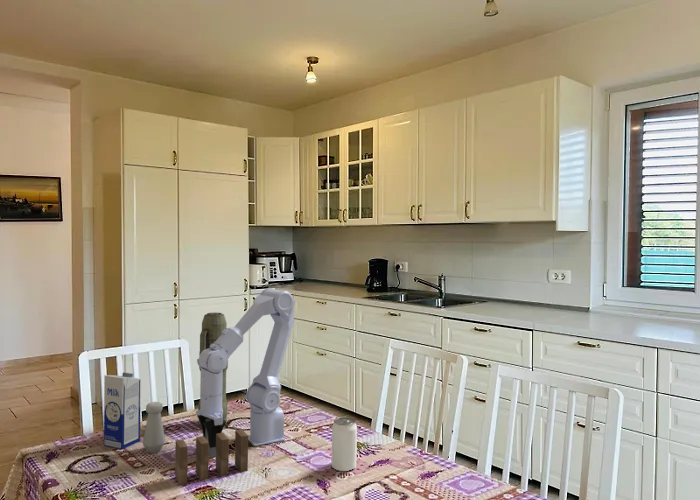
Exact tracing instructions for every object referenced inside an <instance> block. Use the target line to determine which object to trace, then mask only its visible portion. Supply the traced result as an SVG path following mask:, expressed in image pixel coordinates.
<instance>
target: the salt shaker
mask: <svg viewBox="0 0 700 500" xmlns="http://www.w3.org/2000/svg"><path fill="white" fill-rule="evenodd" d="M145 407H146V408H145V411H146V413H147V419H146V424H145V429H144V430H145V431H144V433H143V434H144V435H143V439H142V446H143V448H144V449H145V451H146V453H149V454H150V453H151V454H154V453H158V452H161V451H162V449H163V447H164V445H165V442H166V438H165V437H166V436H165V432H164V425H163V420H162V419H163V418H162V414H161V413H162V411H163V408H164V406H163V403H161V402H160V401H152V402H149V403H147V404H146V406H145Z"/></svg>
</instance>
